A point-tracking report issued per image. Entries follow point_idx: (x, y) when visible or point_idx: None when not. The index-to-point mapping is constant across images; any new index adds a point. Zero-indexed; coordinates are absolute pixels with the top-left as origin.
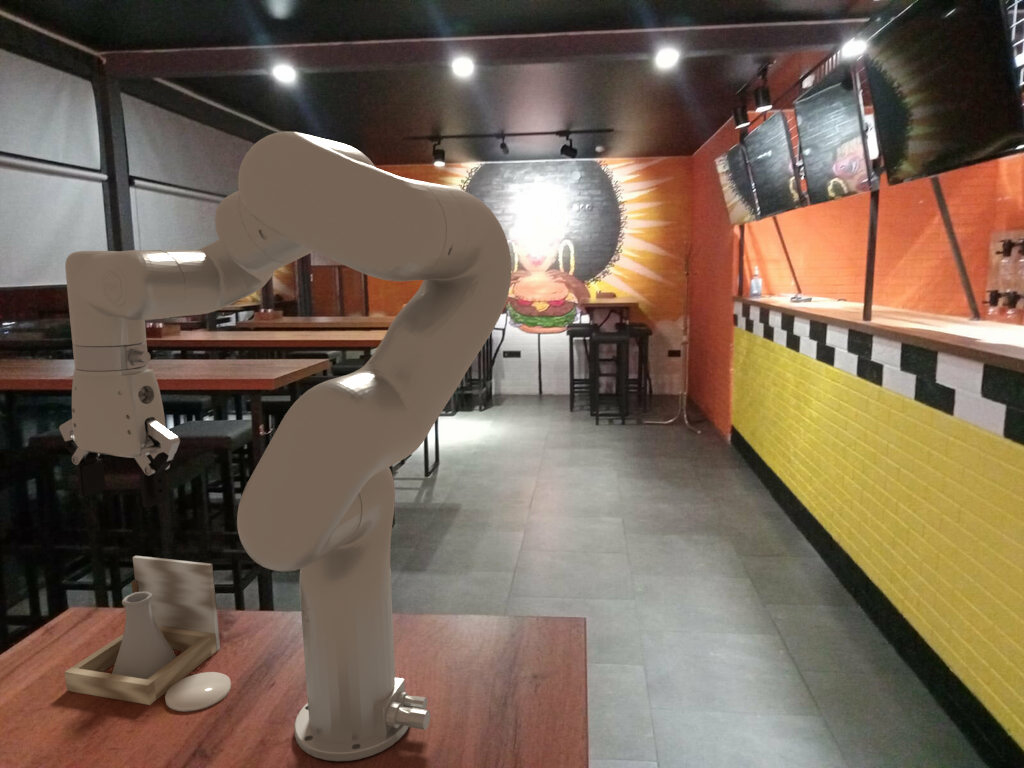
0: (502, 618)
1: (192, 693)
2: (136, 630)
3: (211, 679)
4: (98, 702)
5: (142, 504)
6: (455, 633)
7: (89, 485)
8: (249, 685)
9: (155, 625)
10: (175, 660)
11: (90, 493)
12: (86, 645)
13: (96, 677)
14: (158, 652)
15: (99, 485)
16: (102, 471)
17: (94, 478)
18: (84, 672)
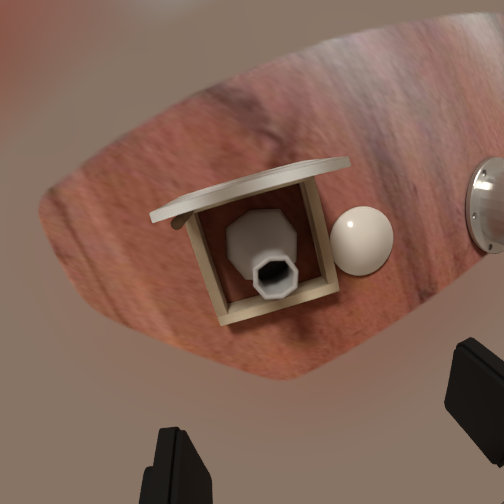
0: (486, 17)
1: (364, 250)
2: (281, 275)
3: (361, 221)
4: None
5: (447, 409)
6: (479, 47)
7: (204, 493)
8: (396, 202)
9: (282, 244)
10: (323, 241)
11: (205, 469)
12: (133, 249)
13: (268, 312)
14: (293, 246)
15: (192, 461)
16: (180, 494)
17: (196, 498)
18: (244, 315)
